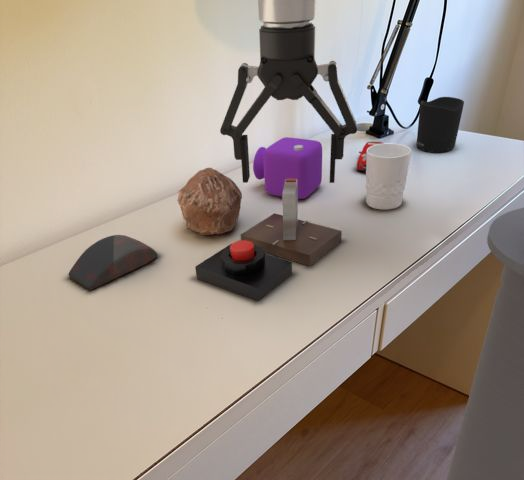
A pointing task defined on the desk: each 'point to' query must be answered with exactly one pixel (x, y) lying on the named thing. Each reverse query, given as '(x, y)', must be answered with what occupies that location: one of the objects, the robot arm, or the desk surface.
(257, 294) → the button block
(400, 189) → the white cup
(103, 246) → the dark grey rounded block
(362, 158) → the race car
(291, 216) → the tap handle
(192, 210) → the decorative rock
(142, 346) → the desk surface
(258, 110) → the robot arm
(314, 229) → the panel
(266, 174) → the toy camera
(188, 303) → the desk surface
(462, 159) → the desk surface
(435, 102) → the pen holder
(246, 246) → the button
